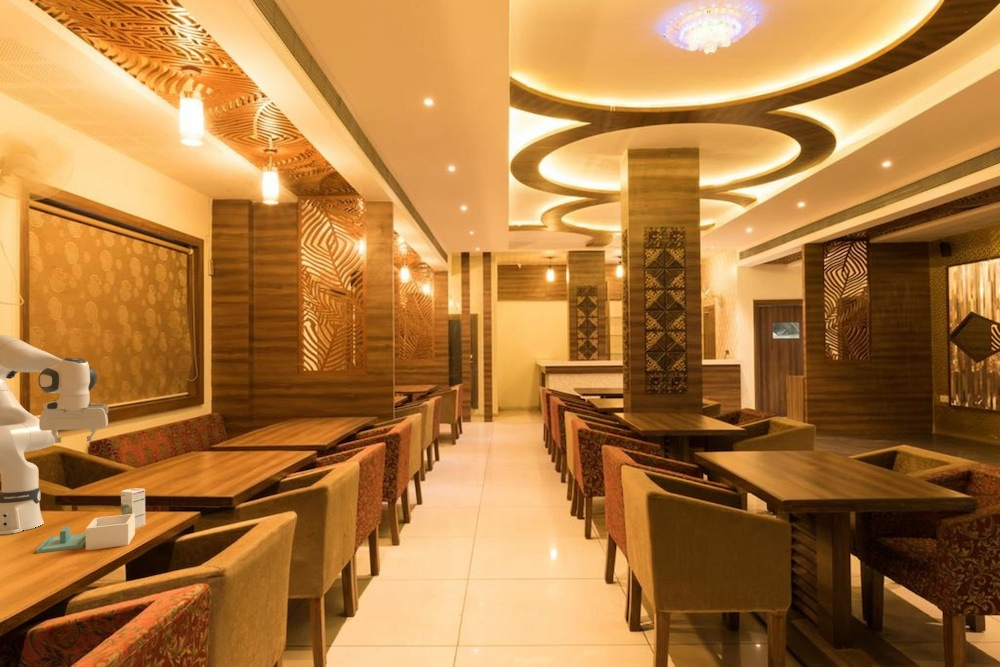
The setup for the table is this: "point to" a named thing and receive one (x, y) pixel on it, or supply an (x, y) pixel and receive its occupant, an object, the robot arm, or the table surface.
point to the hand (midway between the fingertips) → (74, 441)
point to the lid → (63, 541)
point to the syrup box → (134, 504)
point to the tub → (110, 531)
